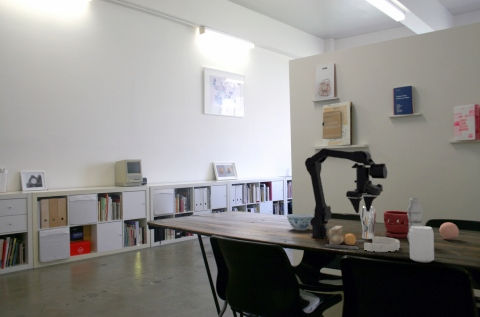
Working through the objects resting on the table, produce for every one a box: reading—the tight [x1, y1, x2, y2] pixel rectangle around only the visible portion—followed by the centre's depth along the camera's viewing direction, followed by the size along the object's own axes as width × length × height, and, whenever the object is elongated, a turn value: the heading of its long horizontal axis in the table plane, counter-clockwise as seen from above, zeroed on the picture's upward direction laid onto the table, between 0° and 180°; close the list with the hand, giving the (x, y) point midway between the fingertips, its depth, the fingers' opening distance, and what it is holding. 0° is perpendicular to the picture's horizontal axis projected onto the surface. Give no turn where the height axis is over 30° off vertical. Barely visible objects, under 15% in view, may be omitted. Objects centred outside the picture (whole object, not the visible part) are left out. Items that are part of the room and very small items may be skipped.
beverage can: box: [408, 225, 435, 263], centre depth 145 cm, size 8×8×12 cm
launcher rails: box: [324, 238, 367, 250], centre depth 175 cm, size 14×16×1 cm
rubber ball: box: [343, 233, 357, 246], centre depth 174 cm, size 5×5×5 cm
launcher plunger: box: [328, 225, 344, 245], centre depth 177 cm, size 3×12×7 cm, turn 151°
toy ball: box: [439, 222, 460, 241], centre depth 184 cm, size 8×8×8 cm
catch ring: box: [363, 235, 401, 253], centre depth 167 cm, size 12×19×3 cm, turn 151°
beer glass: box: [360, 205, 377, 240], centre depth 190 cm, size 7×7×15 cm
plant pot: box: [383, 210, 409, 239], centre depth 194 cm, size 13×13×12 cm
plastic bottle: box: [406, 197, 423, 242], centre depth 175 cm, size 6×7×20 cm
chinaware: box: [286, 213, 315, 231], centre depth 220 cm, size 15×15×8 cm
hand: (362, 212), depth 181 cm, fingers open, 9 cm apart
